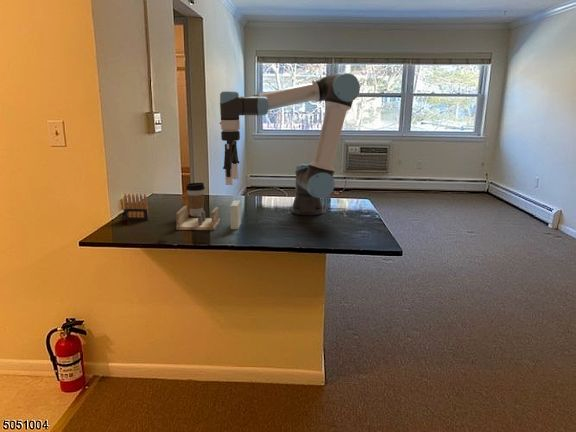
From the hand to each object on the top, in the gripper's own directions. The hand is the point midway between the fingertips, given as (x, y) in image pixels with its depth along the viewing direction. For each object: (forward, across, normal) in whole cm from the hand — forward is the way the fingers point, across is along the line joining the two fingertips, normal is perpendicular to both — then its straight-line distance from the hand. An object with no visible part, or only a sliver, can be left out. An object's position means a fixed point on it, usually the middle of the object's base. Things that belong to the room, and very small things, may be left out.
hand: (232, 181), depth 186 cm
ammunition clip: (+19, -6, -45) cm, 49 cm away
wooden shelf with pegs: (+19, +1, -15) cm, 24 cm away
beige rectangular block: (+19, +1, +1) cm, 19 cm away
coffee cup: (+19, -16, -20) cm, 32 cm away
